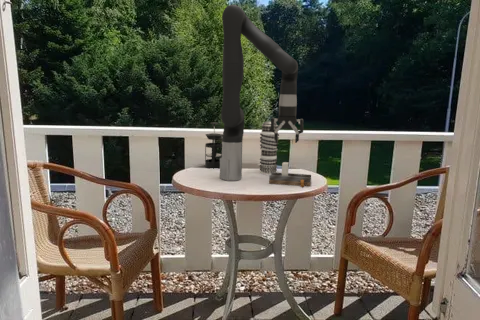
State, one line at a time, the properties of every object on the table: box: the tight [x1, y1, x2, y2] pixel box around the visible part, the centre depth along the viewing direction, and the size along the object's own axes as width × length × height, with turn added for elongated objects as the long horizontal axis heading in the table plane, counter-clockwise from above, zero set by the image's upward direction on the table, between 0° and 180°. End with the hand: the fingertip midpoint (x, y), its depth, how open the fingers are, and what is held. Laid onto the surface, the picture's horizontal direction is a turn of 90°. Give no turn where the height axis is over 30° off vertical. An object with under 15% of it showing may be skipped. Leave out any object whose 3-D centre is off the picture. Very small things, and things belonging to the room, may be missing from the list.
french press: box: [204, 122, 223, 170], centre depth 215 cm, size 12×9×23 cm
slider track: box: [268, 171, 312, 188], centre depth 186 cm, size 18×11×4 cm, turn 79°
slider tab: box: [280, 161, 290, 176], centre depth 187 cm, size 5×4×7 cm
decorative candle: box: [259, 121, 280, 176], centre depth 204 cm, size 9×9×25 cm
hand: (286, 142), depth 184 cm, fingers open, 8 cm apart
